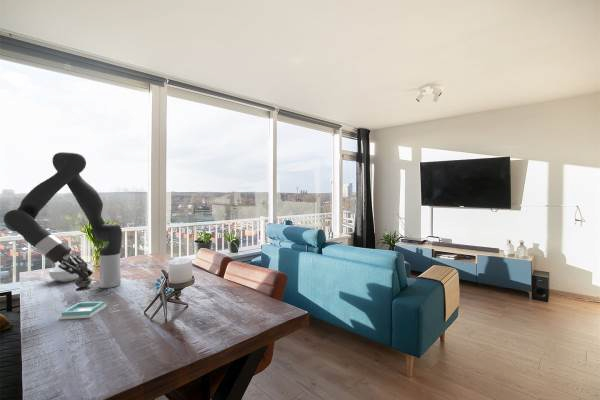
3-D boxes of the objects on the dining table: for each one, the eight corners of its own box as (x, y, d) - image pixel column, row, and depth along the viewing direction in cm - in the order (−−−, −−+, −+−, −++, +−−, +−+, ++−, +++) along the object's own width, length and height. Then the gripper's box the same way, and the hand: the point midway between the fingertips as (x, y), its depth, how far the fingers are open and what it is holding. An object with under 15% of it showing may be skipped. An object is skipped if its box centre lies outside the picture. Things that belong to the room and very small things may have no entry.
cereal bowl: (81, 274, 177) (81, 262, 177) (91, 278, 167) (91, 266, 167) (45, 280, 163) (45, 268, 163) (54, 286, 153) (54, 273, 153)
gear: (155, 292, 138) (156, 274, 145) (153, 298, 142) (155, 280, 148) (179, 291, 144) (179, 274, 150) (177, 297, 147) (178, 280, 154)
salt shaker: (80, 286, 121) (80, 258, 121) (95, 286, 122) (95, 258, 121) (70, 291, 115) (70, 261, 115) (86, 291, 116) (85, 261, 115)
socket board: (78, 307, 124) (78, 302, 124) (106, 306, 125) (106, 300, 125) (59, 319, 112) (59, 313, 112) (90, 317, 114) (90, 311, 114)
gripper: (51, 244, 109) (89, 273, 113) (69, 239, 123) (102, 265, 126) (35, 259, 108) (73, 288, 111) (54, 252, 121) (88, 278, 125)
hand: (88, 276), depth 119 cm, fingers closed on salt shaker, 3 cm apart
